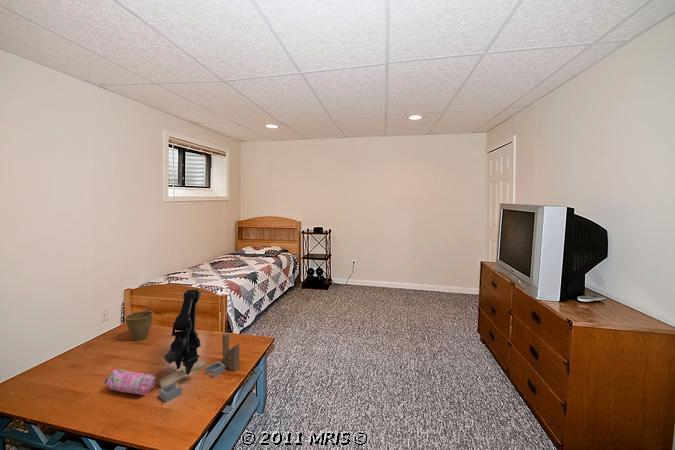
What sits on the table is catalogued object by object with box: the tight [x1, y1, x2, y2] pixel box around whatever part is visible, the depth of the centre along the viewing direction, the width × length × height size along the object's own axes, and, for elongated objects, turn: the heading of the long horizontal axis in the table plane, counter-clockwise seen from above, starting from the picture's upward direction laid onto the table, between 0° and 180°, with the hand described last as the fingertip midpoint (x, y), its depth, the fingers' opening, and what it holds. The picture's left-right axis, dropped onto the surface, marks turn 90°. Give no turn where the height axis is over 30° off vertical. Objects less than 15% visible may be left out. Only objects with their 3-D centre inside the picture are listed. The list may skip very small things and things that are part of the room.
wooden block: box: [220, 332, 240, 372], centre depth 156 cm, size 4×11×18 cm, turn 60°
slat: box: [158, 360, 206, 388], centre depth 148 cm, size 3×22×3 cm, turn 145°
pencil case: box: [103, 368, 157, 396], centre depth 135 cm, size 21×9×9 cm, turn 76°
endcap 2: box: [205, 360, 226, 378], centre depth 151 cm, size 6×7×4 cm
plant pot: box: [125, 310, 154, 342], centre depth 188 cm, size 15×15×16 cm
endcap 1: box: [158, 381, 183, 403], centre depth 132 cm, size 6×7×4 cm
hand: (183, 371), depth 148 cm, fingers open, 9 cm apart
